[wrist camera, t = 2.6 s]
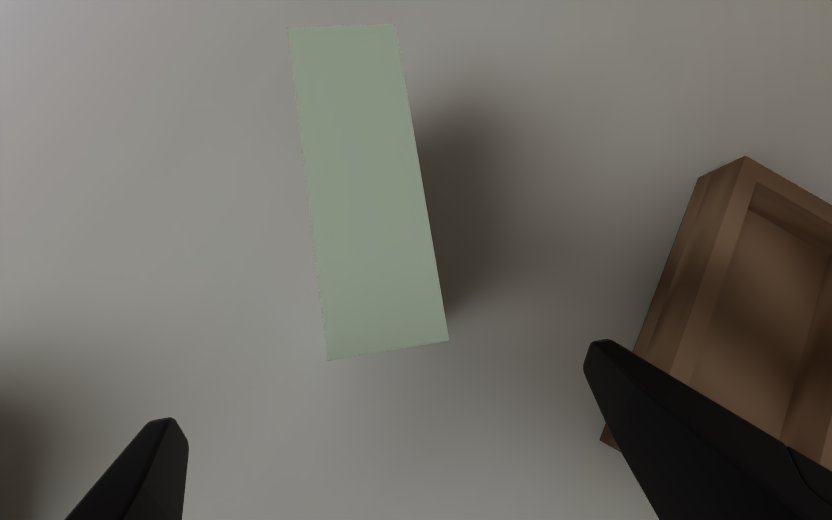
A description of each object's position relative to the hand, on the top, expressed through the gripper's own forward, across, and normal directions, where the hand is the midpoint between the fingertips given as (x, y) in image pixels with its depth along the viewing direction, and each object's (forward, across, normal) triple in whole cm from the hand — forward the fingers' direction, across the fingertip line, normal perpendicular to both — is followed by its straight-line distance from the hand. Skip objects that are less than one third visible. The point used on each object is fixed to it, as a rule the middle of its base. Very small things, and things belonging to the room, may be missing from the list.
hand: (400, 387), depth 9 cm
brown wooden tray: (+6, -19, +9) cm, 22 cm away
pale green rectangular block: (+12, 0, +4) cm, 12 cm away
